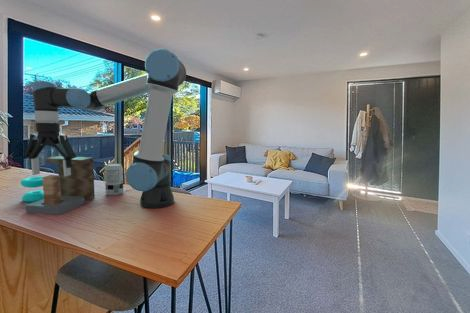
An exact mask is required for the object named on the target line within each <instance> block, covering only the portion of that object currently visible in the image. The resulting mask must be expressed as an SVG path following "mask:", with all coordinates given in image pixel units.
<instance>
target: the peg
mask: <svg viewBox="0 0 470 313" xmlns="http://www.w3.org/2000/svg"><path fill="white" fill-rule="evenodd" d="M41 177H42V178H43V186H42V190H43V193H44V205H55V204H58V203H60V202H61V187H60V176H59V174H58V175H54V174H51V175H46V176H41Z"/></svg>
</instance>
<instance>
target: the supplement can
mask: <svg viewBox="0 0 470 313" xmlns="http://www.w3.org/2000/svg"><path fill="white" fill-rule="evenodd" d="M104 176H105V178H104V180H105V181H104V182H105V183H104V184H105V185H104V186H105V194H106V195H108V196H119V195H121V194H123V192H124V168H123V166H122V164H121V163H109V164H106V165H105V167H104Z"/></svg>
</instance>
